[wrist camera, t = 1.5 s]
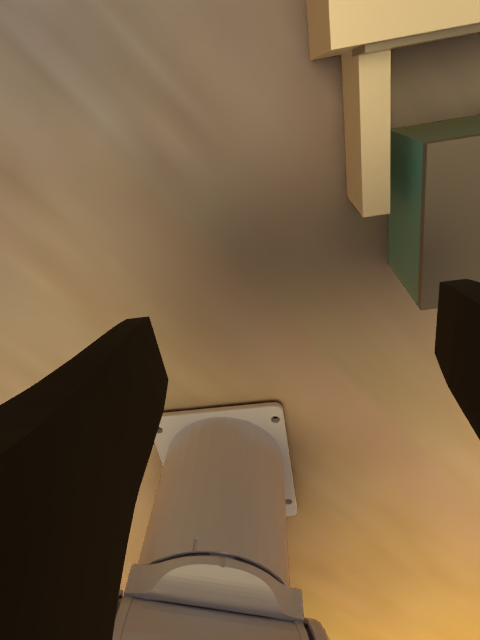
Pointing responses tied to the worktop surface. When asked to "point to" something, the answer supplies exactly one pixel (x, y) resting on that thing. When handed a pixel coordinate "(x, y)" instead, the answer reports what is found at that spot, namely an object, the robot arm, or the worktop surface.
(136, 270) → the worktop surface
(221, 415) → the robot arm
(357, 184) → the bay
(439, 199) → the tall grey-green carton
